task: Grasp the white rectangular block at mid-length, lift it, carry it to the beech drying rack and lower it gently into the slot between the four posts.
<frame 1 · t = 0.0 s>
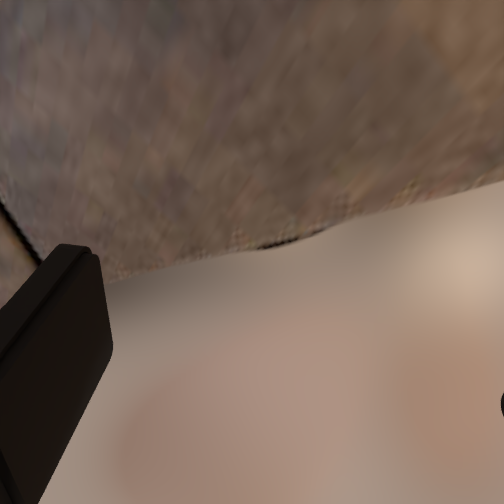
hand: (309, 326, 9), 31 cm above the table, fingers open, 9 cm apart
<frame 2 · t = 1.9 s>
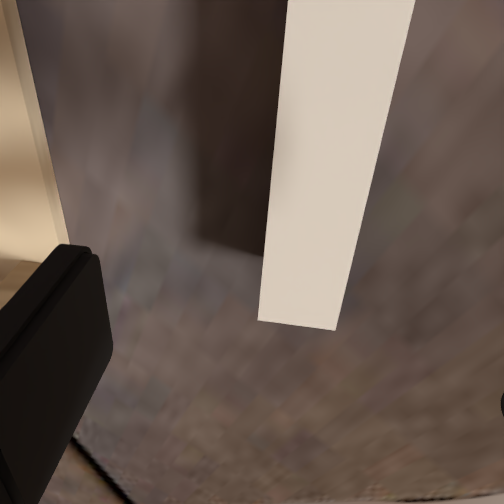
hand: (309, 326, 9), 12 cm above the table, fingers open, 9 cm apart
white rectangular block: (323, 113, 19), on the table
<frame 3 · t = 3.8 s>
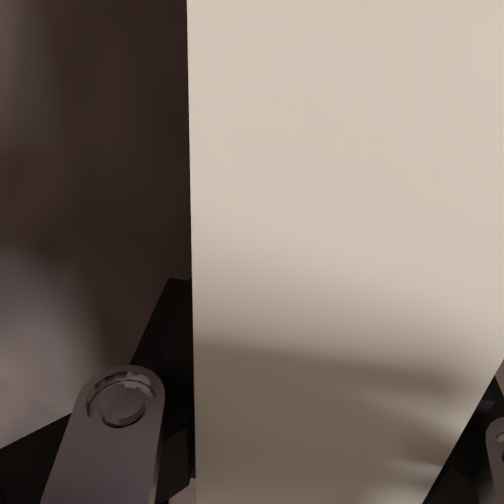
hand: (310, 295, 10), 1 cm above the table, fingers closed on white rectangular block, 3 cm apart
white rectangular block: (310, 279, 11), on the table, touching gripper
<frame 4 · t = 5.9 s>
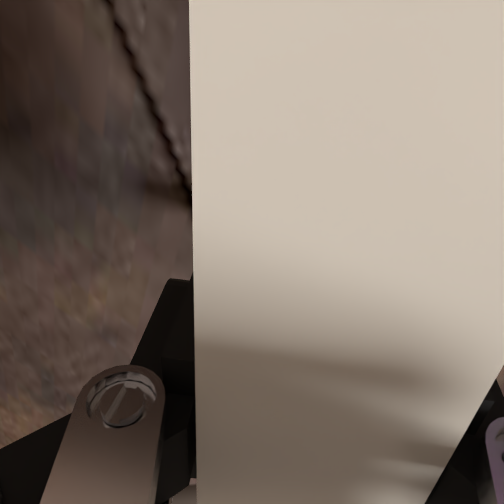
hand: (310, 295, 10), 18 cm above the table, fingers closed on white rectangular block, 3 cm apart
white rectangular block: (311, 282, 11), point 17 cm above the table, touching gripper
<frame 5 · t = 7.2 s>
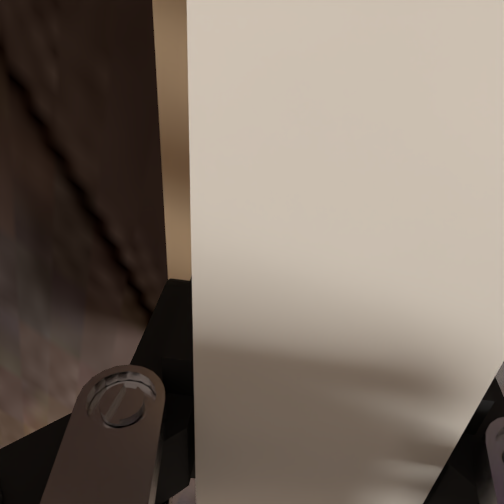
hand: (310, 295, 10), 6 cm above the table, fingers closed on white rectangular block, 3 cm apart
rack: (311, 183, 15), on the table
white rectangular block: (310, 282, 11), point 6 cm above the table, touching gripper
when the fingers open (3 cm above the table, at t = 8.1 s): white rectangular block drops 1 cm, resting on rack.
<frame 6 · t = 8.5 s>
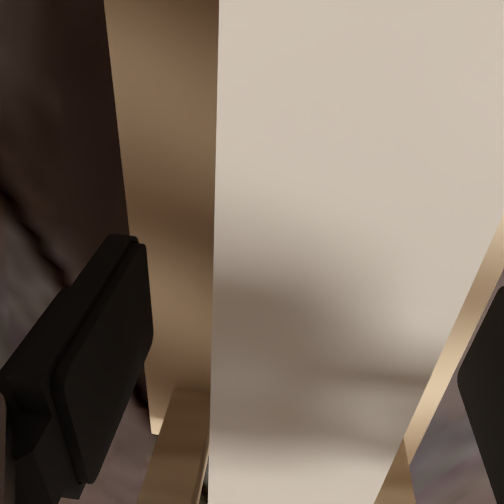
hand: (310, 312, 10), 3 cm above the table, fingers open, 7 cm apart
rack: (310, 232, 13), on the table
white rectangular block: (310, 251, 12), point 1 cm above the table, touching rack
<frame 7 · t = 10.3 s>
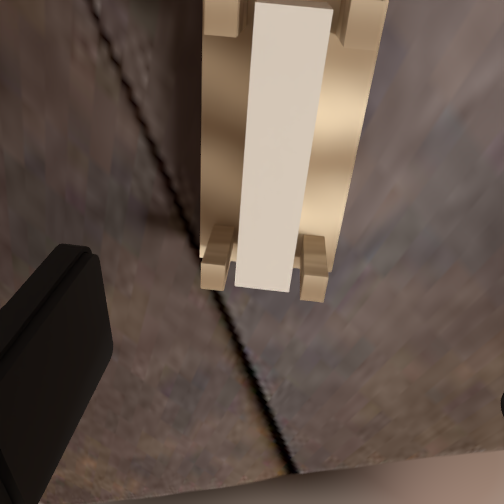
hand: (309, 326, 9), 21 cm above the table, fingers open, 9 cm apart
rack: (279, 137, 29), on the table
white rectangular block: (278, 142, 28), point 1 cm above the table, touching rack
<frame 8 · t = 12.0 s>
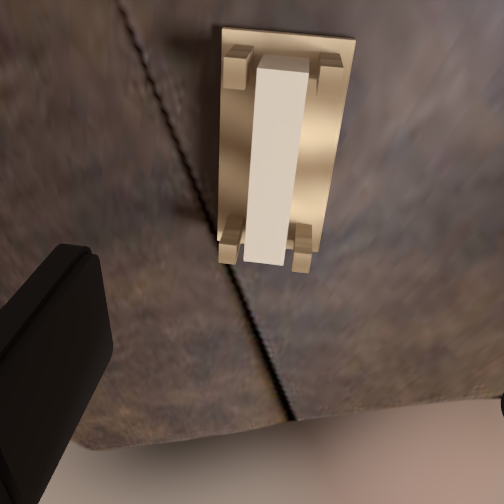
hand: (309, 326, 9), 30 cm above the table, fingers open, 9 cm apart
rack: (277, 151, 39), on the table
white rectangular block: (276, 155, 38), point 1 cm above the table, touching rack
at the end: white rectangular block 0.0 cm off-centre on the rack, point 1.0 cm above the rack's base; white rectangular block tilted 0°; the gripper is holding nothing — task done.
